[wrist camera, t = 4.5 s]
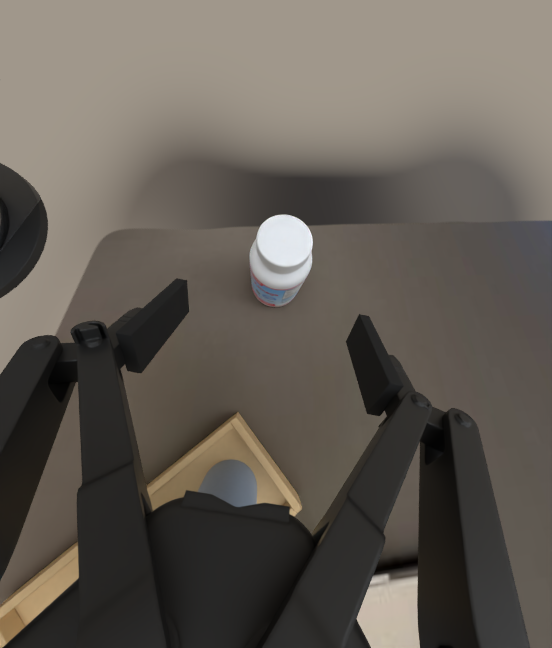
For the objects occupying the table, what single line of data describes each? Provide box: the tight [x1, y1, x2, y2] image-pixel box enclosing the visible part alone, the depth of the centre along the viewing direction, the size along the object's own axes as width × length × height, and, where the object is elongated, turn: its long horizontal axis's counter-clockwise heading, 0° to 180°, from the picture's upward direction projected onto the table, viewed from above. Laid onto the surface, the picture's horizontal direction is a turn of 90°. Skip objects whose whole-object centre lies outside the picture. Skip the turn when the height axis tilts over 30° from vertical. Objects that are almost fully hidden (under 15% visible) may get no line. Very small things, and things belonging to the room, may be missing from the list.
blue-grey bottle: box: [198, 459, 257, 507], centre depth 18 cm, size 6×6×12 cm
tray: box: [0, 412, 302, 648], centre depth 22 cm, size 28×12×2 cm, turn 128°
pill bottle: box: [249, 215, 313, 307], centre depth 23 cm, size 6×6×11 cm
